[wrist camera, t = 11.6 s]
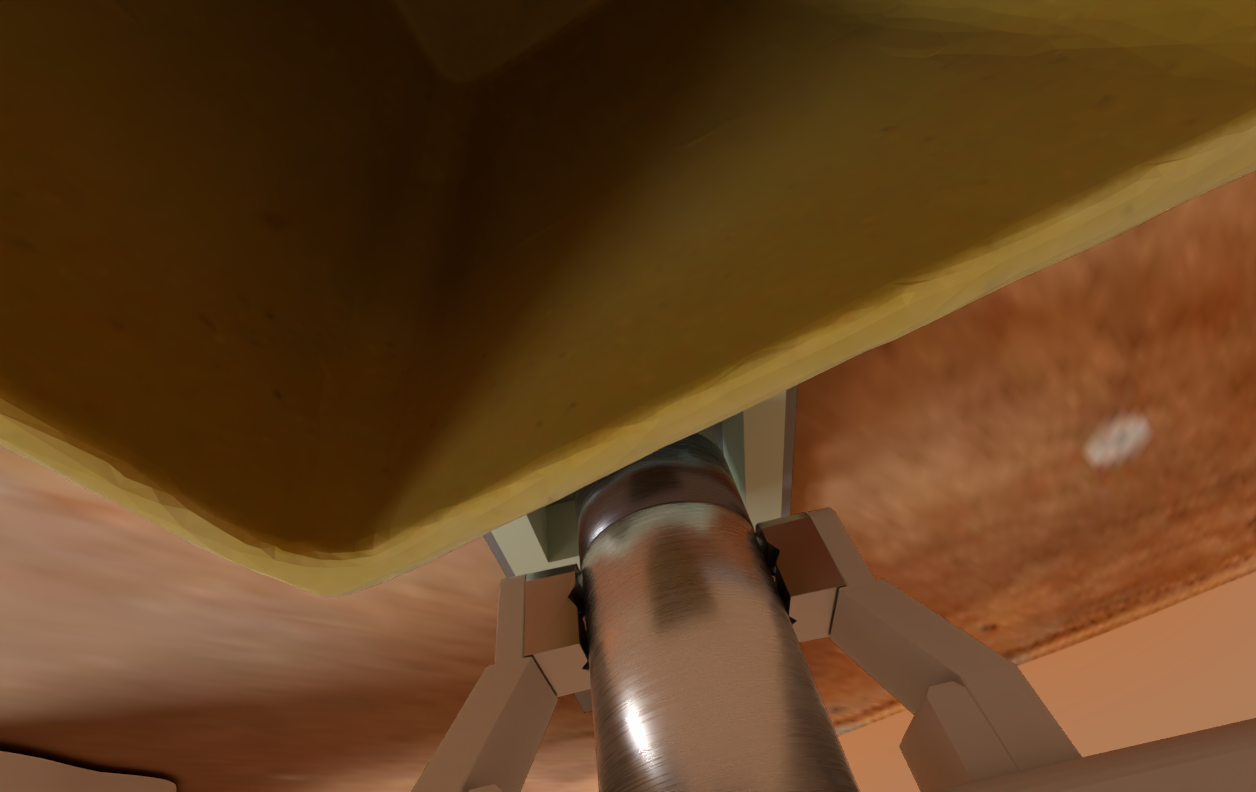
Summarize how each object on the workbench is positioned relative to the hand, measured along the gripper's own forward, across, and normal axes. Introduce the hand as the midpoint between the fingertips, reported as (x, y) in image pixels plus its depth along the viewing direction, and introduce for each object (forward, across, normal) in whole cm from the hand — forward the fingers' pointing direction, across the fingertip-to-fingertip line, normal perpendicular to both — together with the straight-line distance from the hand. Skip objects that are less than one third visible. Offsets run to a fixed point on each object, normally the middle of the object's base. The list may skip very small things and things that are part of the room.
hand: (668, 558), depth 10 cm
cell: (+2, 0, 0) cm, 2 cm away
